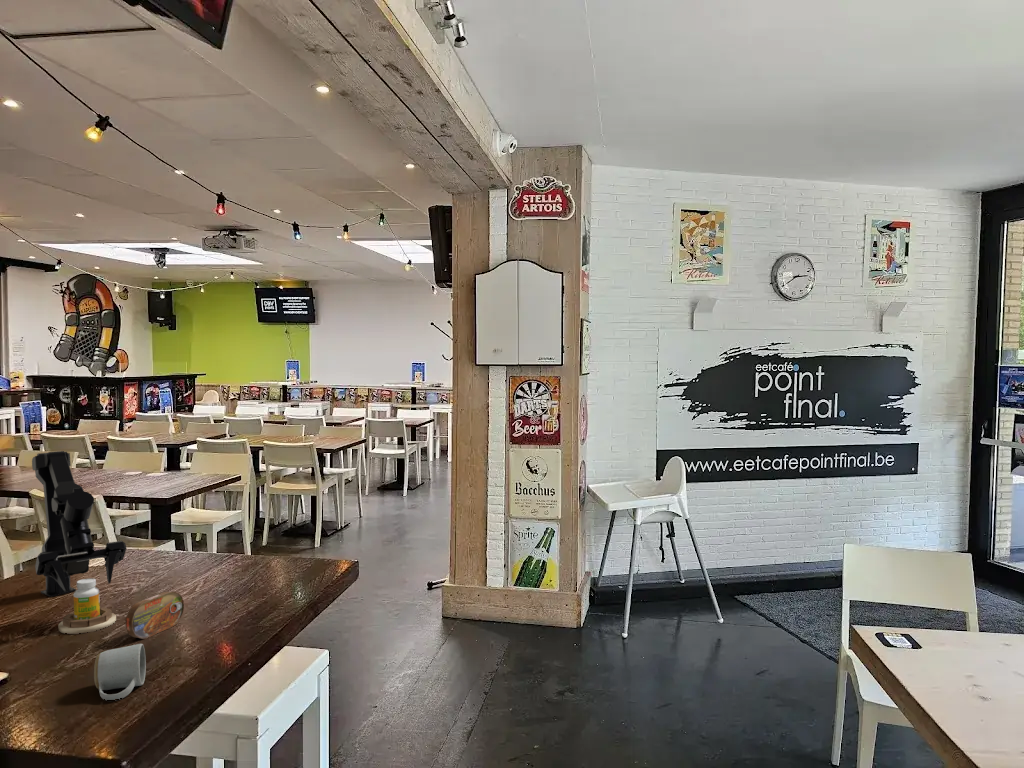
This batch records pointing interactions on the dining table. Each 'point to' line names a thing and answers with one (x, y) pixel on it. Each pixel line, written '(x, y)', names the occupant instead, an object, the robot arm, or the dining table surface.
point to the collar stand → (87, 622)
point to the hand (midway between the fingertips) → (88, 586)
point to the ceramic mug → (120, 670)
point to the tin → (154, 615)
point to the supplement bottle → (86, 600)
